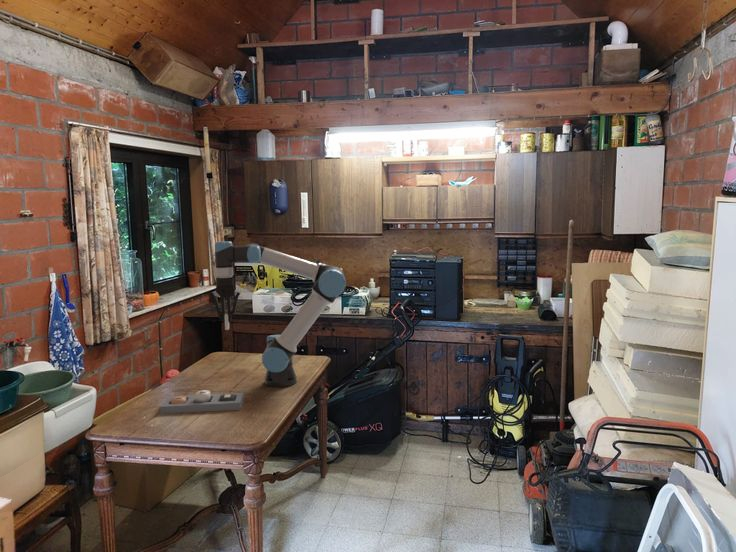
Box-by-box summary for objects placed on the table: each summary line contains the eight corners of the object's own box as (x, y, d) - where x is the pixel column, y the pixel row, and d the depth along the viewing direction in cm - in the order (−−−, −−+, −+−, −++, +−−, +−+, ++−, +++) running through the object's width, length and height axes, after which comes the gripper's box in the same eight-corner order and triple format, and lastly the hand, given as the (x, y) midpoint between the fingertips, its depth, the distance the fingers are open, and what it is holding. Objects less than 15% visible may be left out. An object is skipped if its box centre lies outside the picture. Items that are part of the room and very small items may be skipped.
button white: (211, 397, 229) (211, 389, 229) (209, 402, 223) (208, 394, 223) (197, 398, 228) (197, 390, 228) (194, 403, 223) (194, 395, 222)
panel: (243, 399, 234) (243, 392, 233) (240, 409, 222) (240, 402, 222) (168, 403, 230) (167, 396, 230) (160, 413, 218) (160, 406, 218)
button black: (235, 400, 230) (235, 392, 230) (234, 406, 225) (233, 397, 224) (221, 401, 230) (221, 393, 229) (219, 406, 224) (219, 398, 223)
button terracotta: (188, 403, 228) (187, 395, 228) (184, 408, 222) (184, 400, 222) (173, 404, 228) (173, 396, 227) (169, 409, 222) (169, 401, 221)
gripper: (240, 275, 239) (243, 326, 242) (211, 275, 238) (213, 327, 241) (238, 277, 232) (241, 330, 235) (208, 278, 230) (210, 331, 234)
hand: (227, 329), depth 238 cm, fingers closed
